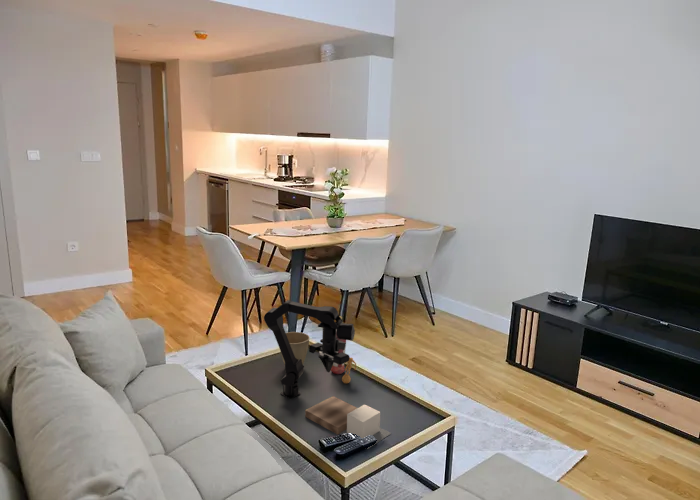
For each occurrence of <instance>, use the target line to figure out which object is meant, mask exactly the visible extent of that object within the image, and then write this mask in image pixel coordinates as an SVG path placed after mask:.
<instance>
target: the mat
mask: <svg viewBox="0 0 700 500" xmlns="http://www.w3.org/2000/svg"><path fill="white" fill-rule="evenodd" d="M343 433H347V429H346V430H344V431H343V432H341V433H340V434H339V435H341V434H343ZM391 434H392V432H390V431H388V430H386V429H384V428H383V427H380V431H379V432H377V433H375V434H374V435H373V436H374V437H375V438H376V439H377V442H376V443H375V444H374V445H372V446H370V447H368V448H367V449H366V450H369V449H370V448H372V447H374V446H375V445H377V444H378V443H379V442H381V441H382V440H384V439H385V438H387V437H388V436H390V435H391Z"/></svg>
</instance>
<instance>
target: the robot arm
mask: <svg viewBox="0 0 700 500" xmlns="http://www.w3.org/2000/svg"><path fill="white" fill-rule="evenodd" d="M288 312H289V313H293V314H297V315H301V316H305V317H308V318H309V317H311V318H314V319H316V320H317V321H319V322H320V323H319V324H318V325H317V328H322V335H321V336H322V337H321V338H322V339H320V341H319V342H315V343H313V344H310V346H308V351H309V353H311V354H316V352H318V353H319V355H318V358H319V359H320V361H321V363H322V364H323V367H324V369H325V372H326V373H331V372H332V371H331V368H332V366H333V363H337V364H339V365H341V364H343V363H344V364H346V363H348V361H349V357H350V355H349V354H348V353H346V352H345V353H343V352H341V353H337V352H338V351H339V349H340V350H344V349H345V346H346V347H347V342H346V343H345V342H342V341H340V340H338V339H337V338H339V339H343V340H346V341H351V342H352V341H354V338H355V334H356V333H355V331H356V329H355V327H354V323H346V322H345V323H344V322H343V321H344V320H343V318H342V319H341V318H340V315H339V311H338V310H337V308H336V307H334V306H326V305H324V306H314V305H309V304H306V303H301V302H297V301H292V300H290V299H287V300H286V301H284V302H283V303H282V304H280V305H279V306H278V307H272V308H271V309H270V310H269V311H267V312H265V314H264V316H263V321H264V323H265V325H266V326H267V328H269V330H271V331H272V332H273V336H274V337H275V338H274V339H275V340H276V342H277V343H276V344H277V345H278V347H279V350H280V354H281V353H282V355H281V357H282V356H283V358H284V361H285V365H284V373H285V374H284V375H283V377H282V378H281V380H280V382H281V385H282V391H281V392H280V395H282V396H284V397H286V398H287V399H289V400H290V399H294V398H295V397H297V396H299V395H301V392H300V391H299V381H298V380H299V379H300V377H301V376H302V375H303V373H304V371H305V369H304V368H305V365H304V363H303V364H302V360H301V359H299V360H298V359H297V358H295V356H294V353H293V351H292V348H291V346H290V343H289V340H288V338H287V335H286V333H287V332H286V331H285V328H284V315H285V314H287V313H288ZM336 329H337V333H336ZM336 335H337V338H336ZM345 350H346V349H345ZM336 351H337V352H336Z"/></svg>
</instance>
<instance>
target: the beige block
mask: <svg viewBox="0 0 700 500" xmlns="http://www.w3.org/2000/svg"><path fill="white" fill-rule="evenodd" d="M356 408H357V409H355V410H354V411H352V412H350V413H348V414H347V433H353V434H356V435H358V436H360V437H361V438H364V437H366V436H368V435H374V434H375V433H377V432H379V431H380V428H381V411H379V410H377V409H375V408H373V407H370V406H369V405H366V404H362V405H361V406H359V407H356Z"/></svg>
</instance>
